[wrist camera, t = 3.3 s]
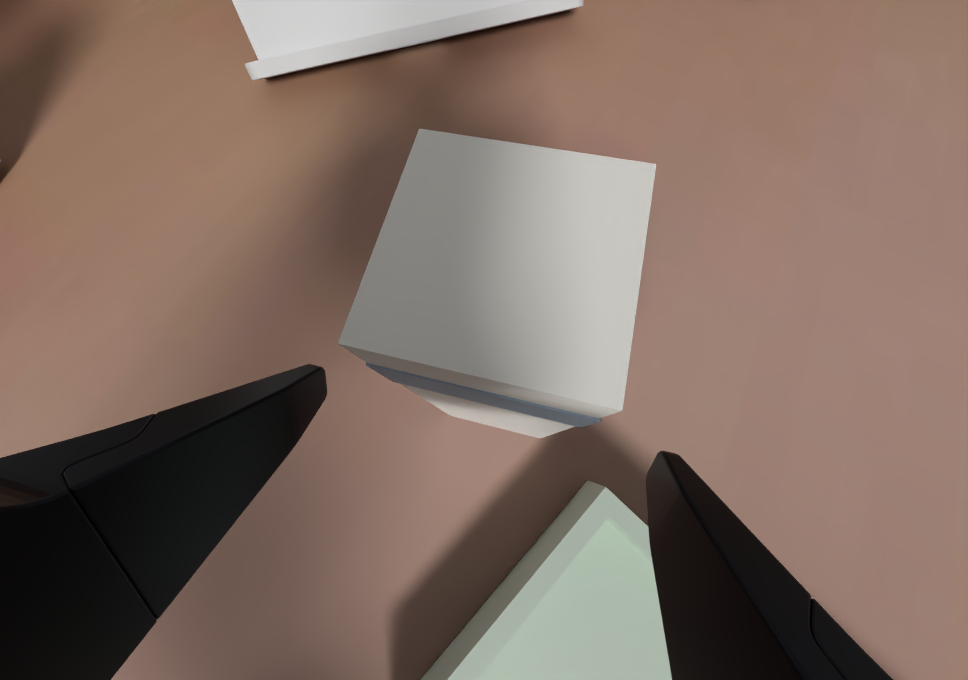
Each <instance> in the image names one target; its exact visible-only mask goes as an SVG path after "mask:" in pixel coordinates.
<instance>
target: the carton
mask: <svg viewBox="0 0 968 680" xmlns="http://www.w3.org/2000/svg"><path fill="white" fill-rule="evenodd" d="M655 170H656V164H652V163H645V162H639V161H632V160H625V159H619V158H612V157H605V156H599V155H592V154H585V153H579V152H572V151H566V150H559V149H552V148H546V147H539V146H532V145H526V144H519V143H512V142H506V141H499V140H493V139H486V138H479V137H473V136H466V135H459V134H453V133H446V132H439V131H433V130H426V129H420V128H419V131H418V133H417V136H416V139H415V141H414V144H413V146H412V149H411V152H410V154H409V157H408V160H407V162H406V165H405V168H404V170H403V173H402V175H401V178H400V181H399V183H398V186H397V189H396V191H395V194H394V197H393V199H392V202H391V205H390V207H389V210H388V212H387V215H386V218H385V220H384V223H383V226H382V228H381V231H380V234H379V236H378V239H377V241H376V244H375V247H374V249H373V252H372V255H371V257H370V260H369V263H368V265H367V268H366V270H365V273H364V276H363V278H362V281H361V284H360V286H359V289H358V292H357V294H356V297H355V300H354V302H353V305H352V307H351V310H350V313H349V315H348V318H347V321H346V323H345V326H344V329H343V331H342V334H341V336H340V339H339V342H338V344H339V345H341V346H342V347H344V348H345V349H347V350H348V351H350V352H352V353H353V354H355V355H356V356H358V357H359V358H361V359H363V360H364V361H366V366H368V367H370V368H371V369H373V370H375V371H376V372H378V373H380V374H381V375H383V376H384V377H386V378H388V379H389V380H391V381H393V382H396V383H400V384H402V385H403V386H405V387H406V388H408V389H409V390H411V391H413V392H414V393H416V394H417V395H419V396H420V397H422V398H424V399H425V400H427V401H428V402H430V403H431V404H433V405H435V406H436V407H438V408H439V409H441V410H442V411H444V412H445V413H447V414H449V415H450V416H453V417H457V418H461V419H465V420H469V421H473V422H477V423H481V424H485V425H489V426H493V427H497V428H501V429H505V430H509V431H513V432H517V433H521V434H525V435H529V436H533V437H537V438H543V437H546V436H549V435H552V434H555V433H558V432H561V431H564V430H567V429H570V428H573V427H580V428H582V427H585V426H588V425H592V424H595V423H598V422H601V419H602V417H605V416H608V415H611V414H614V413H617V412H620V411H622V409H623V402H624V395H625V388H626V380H627V373H628V366H629V359H630V351H631V344H632V337H633V329H634V322H635V315H636V308H637V300H638V293H639V286H640V279H641V271H642V264H643V257H644V249H645V242H646V235H647V228H648V220H649V213H650V206H651V199H652V191H653V184H654V177H655Z"/></svg>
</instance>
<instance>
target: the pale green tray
mask: <svg viewBox="0 0 968 680" xmlns="http://www.w3.org/2000/svg"><path fill="white" fill-rule="evenodd" d="M420 680H672V677H671V671H670V665H669V659H668V653H667V647H666V641H665V635H664V629H663V623H662V617H661V611H660V605H659V599H658V593H657V587H656V581H655V575H654V569H653V563H652V557H651V550H650V543H649V530H648V526H647V525H646V524H645V523H644V522H643V521H642V520H641V519H639V518H638V517H637V516H636V515H635V514H634V513H633V512H632V511H631V510H630V509H629V508H628V507H627V506H626V505H625V504H624V503H622V502H621V501H620V500H619V499H618V498H617V497H616V496H615V495H614V494H613V493H612V492H611V491H610V490H609V489H608V488H606V487H605V486H602V485H599V484H597V483H594V482H591V481H588V480H587V481H586V482H585V484H584V485H583V486H582V487H581V488H580V490H579V491H578V492H577V493H576V494H575V496H574V497H573V498H572V499H571V500H570V502H569V503H568V504H567V505H566V506H565V508H564V509H563V510H562V511H561V512H560V513H559V515H558V516H557V517H556V518H555V519H554V521H553V522H552V523H551V524H550V525H549V527H548V528H547V529H546V530H545V531H544V533H543V534H542V535H541V536H540V537H539V539H538V540H537V541H536V542H535V543H534V545H533V546H532V547H531V548H530V549H529V551H528V552H527V553H526V554H525V555H524V556H523V558H522V559H521V560H520V561H519V562H518V564H517V565H516V566H515V567H514V568H513V570H512V571H511V572H510V573H509V574H508V576H507V577H506V578H505V579H504V580H503V582H502V583H501V584H500V585H499V586H498V588H497V589H496V590H495V591H494V592H493V593H492V595H491V596H490V597H489V598H488V599H487V601H486V602H485V603H484V604H483V605H482V607H481V608H480V609H479V610H478V611H477V613H476V614H475V615H474V616H473V617H472V619H471V620H470V621H469V622H468V623H467V625H466V626H465V627H464V628H463V629H462V631H461V632H460V633H459V634H458V635H457V636H456V638H455V639H454V640H453V641H452V642H451V644H450V645H449V646H448V647H447V648H446V650H445V651H444V652H443V653H442V654H441V656H440V657H439V658H438V659H437V660H436V662H435V663H434V664H433V665H432V666H431V668H430V669H429V670H428V671H427V672H426V673H425V675H424V676H423V677H422V678H421V679H420Z"/></svg>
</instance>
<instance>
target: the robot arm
mask: <svg viewBox="0 0 968 680" xmlns="http://www.w3.org/2000/svg"><path fill="white" fill-rule="evenodd" d="M326 395H327V385H326V375H325V370H324V369H323V368H322V367H320V366H316V365H312V364H307V365H304V366H301V367H298V368H295V369H292V370H289V371H285V372H282V373H279V374H276V375H273V376H270V377H267V378H264V379H261V380H257V381H254V382H251V383H248V384H245V385H242V386H239V387H236V388H233V389H229V390H226V391H223V392H220V393H217V394H214V395H211V396H208V397H205V398H201V399H198V400H195V401H192V402H189V403H186V404H183V405H180V406H177V407H173V408H170V409H167V410H164V411H161V412H158V413H157V414H151V415H148V416H145V417H142V418H139V419H136V420H133V421H130V422H126V423H123V424H120V425H117V426H113V427H110V428H107V429H104V430H100V431H97V432H93V433H89V434H86V435H82V436H79V437H75V438H72V439H68V440H65V441H61V442H57V443H54V444H50V445H46V446H43V447H39V448H35V449H32V450H28V451H24V452H21V453H17V454H13V455H10V456H6V457H2V458H0V680H111V679H112V677H113V676H114V675H115V673H116V672H117V671H118V670H119V668H120V667H121V666H122V665H123V663H124V662H125V661H126V660H127V658H128V657H129V656H130V655H131V653H132V652H133V651H134V649H135V648H136V647H137V646H138V644H139V643H140V642H141V641H142V639H143V638H144V637H145V636H146V634H147V633H148V632H149V630H150V629H151V628H152V627H153V625H154V624H155V623H156V621H157V619H158V618H159V617H160V616H161V615H162V614H163V612H164V611H165V610H166V609H167V607H168V606H169V605H170V604H171V602H172V601H173V600H174V598H175V597H176V596H177V595H178V593H179V592H180V591H181V590H182V588H183V587H184V586H185V585H186V583H187V582H188V581H189V579H190V578H191V577H192V576H193V574H194V573H195V572H196V571H197V569H198V568H199V567H200V566H201V564H202V563H203V562H204V561H205V559H206V558H207V557H208V555H209V554H210V553H211V552H212V550H213V549H214V548H215V547H216V545H217V544H218V543H219V542H220V540H221V539H222V538H223V536H224V535H225V534H226V533H227V531H228V530H229V529H230V528H231V526H232V525H233V524H234V523H235V521H236V520H237V519H238V517H239V516H240V515H241V514H242V512H243V511H244V510H245V509H246V507H247V506H248V505H249V504H250V502H251V501H252V500H253V499H254V497H255V496H256V495H257V493H258V492H259V491H260V490H261V488H262V487H263V486H264V485H265V483H266V482H267V481H268V480H269V478H270V477H271V476H272V474H273V473H274V472H275V471H276V469H277V468H278V467H279V466H280V464H281V463H282V462H283V461H284V459H285V458H286V457H287V456H288V454H289V453H290V452H291V450H292V449H293V448H294V446H295V445H296V444H297V442H298V441H299V439H300V438H301V436H302V435H303V433H304V432H305V430H306V428H307V427H308V425H309V424H310V422H311V421H312V419H313V417H314V416H315V414H316V413H317V411H318V410H319V408H320V406H321V405H322V403H323V402H324V400H325V398H326ZM646 491H647V510H648V530H649V543H650V550H651V557H652V563H653V569H654V575H655V581H656V587H657V593H658V599H659V605H660V611H661V617H662V623H663V629H664V635H665V641H666V647H667V653H668V659H669V665H670V671H671V677H672V680H893V679H892V678H891V677H890V676H889V675H888V674H887V673H886V672H885V671H884V670H883V669H882V668H881V667H880V666H879V665H878V664H877V663H876V662H875V661H874V660H873V659H872V658H871V657H870V656H869V655H868V654H867V653H866V652H865V651H864V650H863V649H862V648H861V647H860V646H859V645H858V644H857V643H856V642H855V641H854V640H853V639H852V638H851V637H850V636H849V635H848V634H847V633H846V632H845V631H844V630H843V629H842V628H841V626H840V625H839V624H838V623H837V622H836V621H835V620H834V619H833V618H832V617H831V616H830V615H829V614H828V613H827V612H826V611H825V610H824V609H823V608H822V606H821V605H820V604H819V603H818V602H817V601H816V600H815V599H811V595H810V594H809V593H808V592H807V591H806V590H805V589H804V587H803V586H802V585H801V584H800V583H799V582H798V581H797V580H796V579H795V578H794V577H793V576H792V575H791V574H790V573H789V572H788V570H787V569H786V568H785V567H784V566H783V565H782V564H781V563H780V562H779V561H778V560H777V559H776V558H775V557H774V556H773V554H772V553H771V552H770V551H769V550H768V549H767V548H766V547H765V546H764V545H763V544H762V543H761V542H760V541H759V540H758V539H757V537H756V536H755V535H754V534H753V533H752V532H751V531H750V530H749V529H748V528H747V527H746V526H745V525H744V524H743V523H742V522H741V520H740V519H739V518H738V517H737V516H736V515H735V514H734V513H733V512H732V511H731V510H730V509H729V508H728V507H727V506H726V504H725V503H724V502H723V501H722V500H721V499H720V498H719V497H718V496H717V495H716V494H715V493H714V492H713V491H712V490H711V489H710V487H709V486H708V485H707V484H706V483H705V482H704V481H703V480H702V479H701V478H700V477H699V476H698V475H697V474H696V473H695V472H694V470H693V469H692V468H691V467H690V466H689V465H688V464H687V463H686V462H685V461H684V460H683V459H682V458H681V457H680V456H679V455H678V454H675V453H671V452H666V451H660V452H659V453H658V454H657V456H656V458H655V459H654V461H653V463H652V465H651V467H650V469H649V471H648V473H647V477H646Z"/></svg>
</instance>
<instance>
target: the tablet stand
mask: <svg viewBox="0 0 968 680" xmlns="http://www.w3.org/2000/svg"><path fill="white" fill-rule="evenodd" d="M232 1H233V4H234V6H235V8H236V10H237V13H238V15H239V17H240V19H241V22H242V24H243V26H244V28H245V31H246V33H247V35H248V37H249V39H250V42H251V44H252V46H253V48H254V51H255V53H256V55H257V57H258V61H254V62H250V63H246V64H245V67H246V69H247V71H248V73H249V75H250V77H251V79H252V80H259V79H266V78H270V77H275V76H279V75H283V74H288V73H292V72H297V71H301V70H306V69H310V68H315V67H319V66H323V65H328V64H332V63H337V62H341V61H346V60H350V59H355V58H359V57H363V56H368V55H372V54H377V53H381V52H386V51H390V50H395V49H399V48H403V47H408V46H412V45H417V44H421V43H426V42H430V41H435V40H439V39H443V38H448V37H452V36H457V35H461V34H466V33H470V32H475V31H479V30H483V29H488V28H492V27H497V26H501V25H506V24H510V23H515V22H519V21H523V20H528V19H532V18H537V17H541V16H546V15H550V14H555V13H559V12H564V11H568V10H572V9H575V8H578V7H582V6H583V0H232Z"/></svg>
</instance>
